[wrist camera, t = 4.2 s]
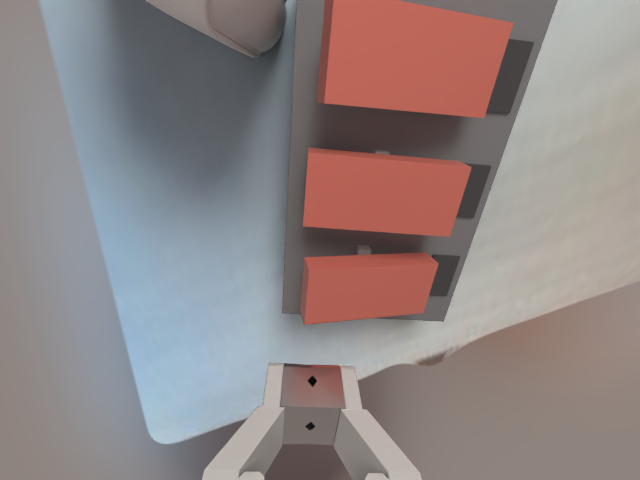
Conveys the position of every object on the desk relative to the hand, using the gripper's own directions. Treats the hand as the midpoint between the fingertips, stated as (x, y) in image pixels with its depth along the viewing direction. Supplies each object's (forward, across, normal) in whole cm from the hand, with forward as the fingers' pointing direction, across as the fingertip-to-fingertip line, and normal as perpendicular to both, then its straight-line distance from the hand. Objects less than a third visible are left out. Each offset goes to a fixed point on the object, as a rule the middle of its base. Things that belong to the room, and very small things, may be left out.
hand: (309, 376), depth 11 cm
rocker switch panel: (+14, -4, -5) cm, 15 cm away
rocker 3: (+9, -4, +1) cm, 10 cm away
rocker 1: (+9, -3, -11) cm, 14 cm away
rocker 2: (+9, -4, -5) cm, 11 cm away
